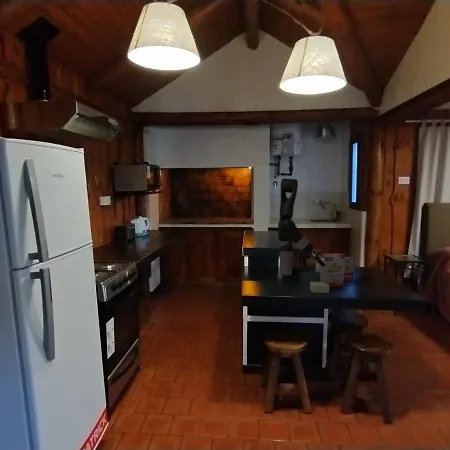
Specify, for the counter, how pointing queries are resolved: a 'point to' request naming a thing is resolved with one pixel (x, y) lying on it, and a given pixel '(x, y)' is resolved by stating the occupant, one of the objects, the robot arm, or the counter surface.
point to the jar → (318, 266)
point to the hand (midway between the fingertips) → (323, 264)
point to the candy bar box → (348, 269)
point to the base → (319, 287)
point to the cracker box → (333, 270)
